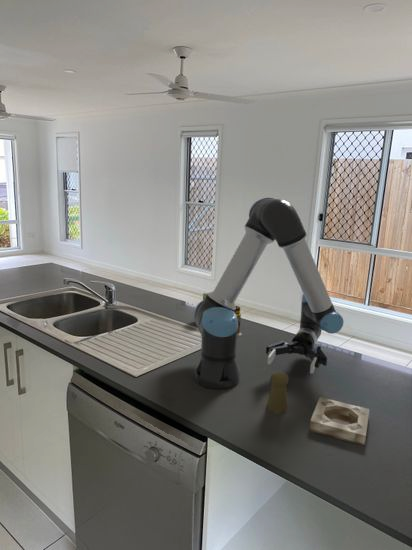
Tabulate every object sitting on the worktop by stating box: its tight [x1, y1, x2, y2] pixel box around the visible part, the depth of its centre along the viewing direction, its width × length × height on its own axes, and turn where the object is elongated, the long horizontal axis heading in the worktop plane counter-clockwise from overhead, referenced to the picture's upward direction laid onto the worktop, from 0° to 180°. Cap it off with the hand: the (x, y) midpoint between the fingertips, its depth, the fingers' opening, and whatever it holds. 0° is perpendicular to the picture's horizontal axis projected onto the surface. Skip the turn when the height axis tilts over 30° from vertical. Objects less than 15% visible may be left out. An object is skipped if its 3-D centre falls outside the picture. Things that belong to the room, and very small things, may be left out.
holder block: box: [309, 396, 370, 447], centre depth 111 cm, size 14×14×3 cm
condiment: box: [234, 305, 243, 336], centre depth 176 cm, size 7×8×12 cm
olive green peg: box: [266, 371, 289, 414], centre depth 118 cm, size 6×6×11 cm
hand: (289, 364), depth 126 cm, fingers open, 13 cm apart
